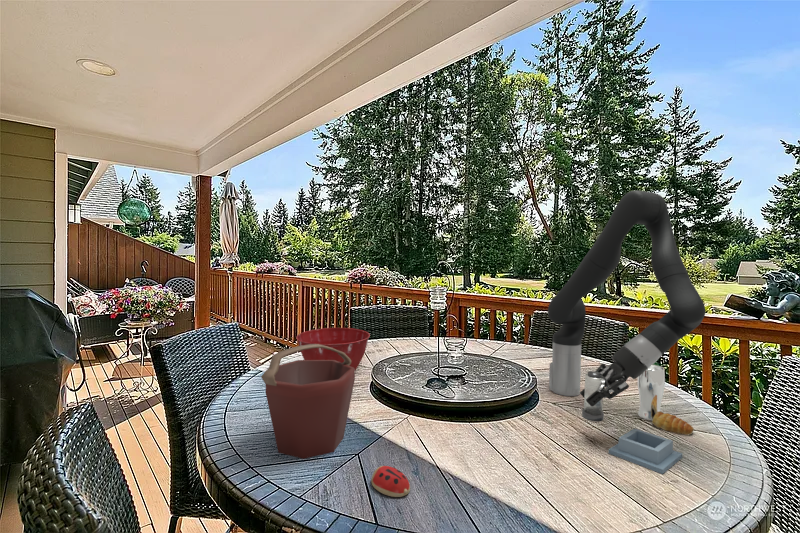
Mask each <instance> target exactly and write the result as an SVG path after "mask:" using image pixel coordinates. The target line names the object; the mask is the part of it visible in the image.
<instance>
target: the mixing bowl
mask: <svg viewBox="0 0 800 533" xmlns="http://www.w3.org/2000/svg"><path fill="white" fill-rule="evenodd" d="M370 336H371V334H370V333H369V332H368V331H365V330H363V329H357V328H351V327H323V328H315V329H310V330H307V331H303V332H300V333H299V334H297V335H296V337H295V338H296V340H297V343H298V346H302V345H309V344H320V345H324V346H327V347H331V348H334V349H336V350H339V351H341V352H344V353H345V354H346V355H347V356H348V357H349V358H350V359H351V364H350V366H351V367H353V368H355V371H356V370H357V369H358V368H359V365H360V363H361V362H362V360H363V357H364V355H365V353H366V350H367V346H368V341H369V338H370ZM300 353H301V355H302V358H303V360H336V361H338V362H341V363H343V362H344V359H343V358H342V357H341V356H340V355H339V354H338V353H337V352H334V351H331V350H328V349H324V348H311V349H306V350H302V351H300Z"/></svg>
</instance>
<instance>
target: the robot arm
mask: <svg viewBox="0 0 800 533" xmlns="http://www.w3.org/2000/svg"><path fill="white" fill-rule="evenodd" d="M635 225H641V226H642V225H643V226H644V227H645V229H646V230H647V231H648V233H649V236H650V239H651V244H652V245H651V256H650V257H651V258H650V261H651V262H650V263H651V268H652V271H653V274H654V276H655V279H656V281H657V283H658V286H659V288H660V290H661V291H662V292H663V293H664V295H665V297H666V299H667V302H668V305H669V307H670V310H669V311H668V312H667V313H665V314H664V315H663V316H662V317H661V318H660V319H659V320H657V321H654V322H652V323H650V324H649V325H648V326H646V327H645V328H644V329H643V330H642V331H640V333H639V334H637V335H636V336H634V337H632V338H631V339H630V340H629V341H627V342H626V343H625V344H624V345H623V346H622V347H620V348H619V349H618V350H617V351H616V352H614V353H613V355H612V356H611V359H612V361H613V362H612V363H610V364H609V365H608V366H607V365H606V364H605V363H601V364H600V365H599V366H598V368H597V369H596V370H595V372H599V373H601V376H603V377H604V380H603V381H602V385H601V386H600V387H599V389H598V390H597V391H598V392H597V391H595V392H594V393H593V394H592V395H590V396H589V397H588V398H587V399H586V401H587V402H588V403H589V405H590V406H594V405H595V404H597V403H598V402H599V401H600V400H601V399H602V398H603V399H608V400H612V399H613V398H614V397H616V396H618V395H620V394H621V393H622V392H624V391H626V390H628V389H629V388H630V385H629V384H628V383H627V380H628V379H629V378H631V379H633V380H636V379H638V377H639V376H640V375H641V374H642V373H643V372H644V371H646V370H647V369H648V368H649V367H650V366H651V365H655V363H657V361H658V360H659V359H660V358H661V357H662V356H663V355H664V354H665V353H667V352H668V350H670V349H671V348H672V347H673V346H674V345H676V343H677V342H678V341H679V340H682V339H683V338H684V337H685V336H687V335H688V334H690V333H691V332H692V331H694V330H695V329H696V328H698V327H699V325H701V323H702V322H703V320H704V319H705V315H706V306H705V304H704V301H703V299H702V297H701V296H700V294H699V292H698V290H697V289H696V287H695V286H694V284H693V283H692V280H691V277H690V275H689V273H688V270H687V269H686V266H685V263H684V261H683V260H682V258H681V254H680V253H679V249H678V247H677V243H676V240H675V235H674V232H673V227H672V223H671V220H670V213H669V210H668V206H667V203H666V200H665V199H664V197H663V196H662V195H661V194H658V193H655V192H650V191H644V190H637V189H635V190H630V191H628V192H627V193H625V194H624V195H623V196H622V197H621V199H620V200H619V201H618V203H617V205H616V207H615V208H614V210H613V212H612V213H611V216H610V217H609V220H608V221H607V223H606V225H605V227H604V228H603V230H602V231H601V233H600V234H599V236H598V237H597V239H596V240H595V242H594V244H593V245H592V246H591V248H590V249H589V250H588V252H587V253H586V255H585V256H584V257H583V259H582V261H581V262H580V263H579V265H578V267H577V268H576V269H575V270H574V272H573V273H572V275H571V276H570V278H569V279H568V280H567V282H566V283H565V284H564V286H563V287H562V288H561V289H560V290H559V291H558V292H557V293H556V294H555V296H554V297H553V298H552V299H551V301H550V302H549V304H548V306H547V314H548V318H549V320H550V321H551V322H553V323H555V324H559V325H561V326H560V328H558V330H557V331H556V332H554V333H553V334H552V351H551V353H552V355H551V358H552V360H551V361H552V362H550V363H549V369H548V370H549V375H548V376H549V378H548V380H549V381H548V390H549V391H552V393H554V394H557V395H560V396H565V397H575V396H579V395H581V396H582V398H584V392H585V387H584V388H583V389H582V390H581V374H582V373H581V372H582V368H581V366H582V339H583V337H584V335H585V327H586V318H587V317H586V313H587V312H586V307H585V306H586V305H585V303H584V301H583V300H582V298H584V297H585V296H586V295H588V294H589V293H590V292H592V291H594V290H595V289H597V288H598V287H599V286H601V285H602V284H603V283H605V282H606V280H608V278H609V277H610V276H611V275H612V273H613V272H614V271H615V269H616V268H617V267H618V266H619V264H620V261H621V255H622V246H623V245H622V244H623V241H624V240H625V237H626V236H627V234H628V233H629V232H630V231H631V229H632V228H633V227H634V226H635Z"/></svg>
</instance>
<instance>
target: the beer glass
mask: <svg viewBox="0 0 800 533" xmlns="http://www.w3.org/2000/svg"><path fill="white" fill-rule="evenodd" d="M665 377H666V376H665V368H664V367H663V366H661V365H660V366H659V365H656V364H653V365H651V366H650V367H649V368H648V369H647V370H646V371H644V372H643V373H642V374H641V375H640V376H639V377H637V390H638V395H639V396H638V397H639V407H638V408H639V409H638V413H637V415H638V416H639V417H640V418H641V419H643V420H647V421H650V422H652V421H653V418H654V415H655V414H656V413H657V412H659V411H660V412H662V410H661V404H662V400H663V397H664V392H665V388H666V387H665V385H666V378H665Z"/></svg>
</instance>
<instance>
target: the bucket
mask: <svg viewBox="0 0 800 533" xmlns="http://www.w3.org/2000/svg"><path fill="white" fill-rule="evenodd" d="M311 348H324V349H328V350H331V351H334V352H337V353H338V354H339V355H340V356H341V357H342V358H343V359H344V362H343V363H341V362H338V361H336V360H304V359H298V360H294V361H289V362H286V363H282V364H281V361H282V359H284V358H286V357H288V356H290V355H292V354H295V353H298V352H301V351H302V350H306V349H311ZM269 362H270V363H269V366H268V368H267V369H266V370H265V371H264V372H263V374H262V375H261V379H262V380H263V382H264V384H265V395H266V402H267V405H268V411H269V415H270V420H271V424H272V429H273V434H274V438H275V443H276V447H277V453H278V454H281V455H286V456H291V457H295V458H298V459H302V460H305V459H308V458H309V459H310V458H312V457H317V456H322V455H326V454H330V453H335V451H336V450H337V448H338V447H339V445H340V443H341V442H342V441H343V439H344V438H345V432H346V426H347V422H348V416H349V410H350V408H351V401H352V395H353V390H354V385H355V378H356V377H355V373H356V372H355V371H356V370H355V368H353V367H351V366H350V364H351V359H350V358H349V357H348V356H347V355H346V354H345V353H344V352H341V351H339V350H336V349H334V348H331V347H327V346H324V345H320V344H309V345H302V346H299V345H297V346H293V347H289V348H287V349H284V350H283V349H282V350H281V351H278V352H277V353H275V354H273V355H272V356H271V358H270V361H269Z"/></svg>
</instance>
